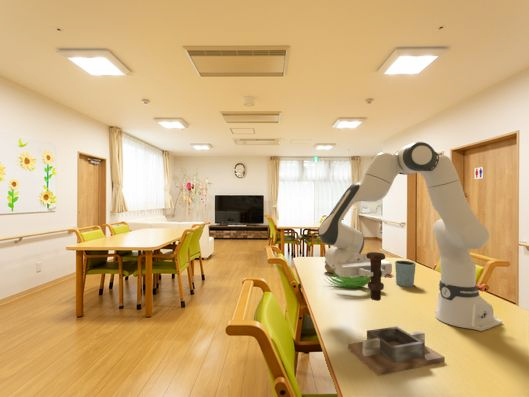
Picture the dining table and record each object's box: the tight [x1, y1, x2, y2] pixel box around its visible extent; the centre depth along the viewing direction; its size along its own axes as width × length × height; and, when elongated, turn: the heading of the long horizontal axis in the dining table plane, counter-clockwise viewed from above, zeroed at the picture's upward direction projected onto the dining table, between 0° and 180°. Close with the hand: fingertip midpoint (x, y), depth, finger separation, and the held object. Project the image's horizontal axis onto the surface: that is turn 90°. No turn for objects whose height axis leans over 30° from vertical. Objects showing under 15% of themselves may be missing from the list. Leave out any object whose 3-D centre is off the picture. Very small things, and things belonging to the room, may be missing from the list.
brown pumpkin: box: [324, 260, 335, 274], centre depth 182 cm, size 12×12×10 cm
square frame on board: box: [347, 326, 446, 376], centre depth 86 cm, size 22×14×6 cm, turn 107°
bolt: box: [366, 251, 386, 302], centre depth 95 cm, size 6×5×15 cm
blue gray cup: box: [394, 260, 416, 288], centre depth 158 cm, size 10×10×12 cm
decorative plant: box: [324, 252, 383, 289], centre depth 153 cm, size 26×25×30 cm
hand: (377, 273), depth 94 cm, fingers closed on bolt, 3 cm apart
